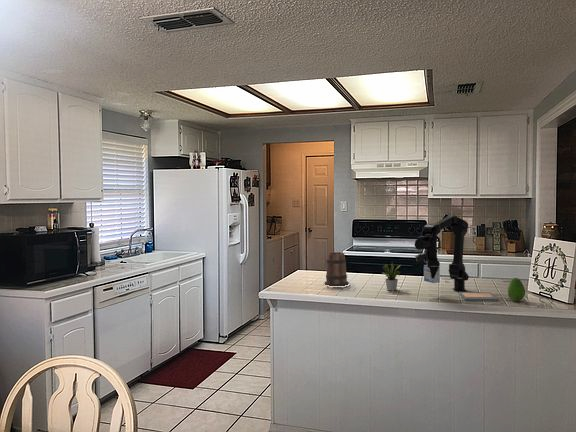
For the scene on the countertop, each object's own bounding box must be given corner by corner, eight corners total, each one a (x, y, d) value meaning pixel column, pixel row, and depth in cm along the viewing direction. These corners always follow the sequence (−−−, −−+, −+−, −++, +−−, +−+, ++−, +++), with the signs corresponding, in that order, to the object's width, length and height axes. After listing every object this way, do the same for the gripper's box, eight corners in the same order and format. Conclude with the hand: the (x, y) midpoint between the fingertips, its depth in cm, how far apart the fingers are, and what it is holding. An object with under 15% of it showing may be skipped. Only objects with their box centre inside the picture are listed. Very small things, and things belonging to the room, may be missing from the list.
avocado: (508, 302, 244) (508, 278, 244) (507, 299, 252) (507, 276, 251) (526, 303, 241) (525, 279, 241) (524, 300, 249) (524, 276, 248)
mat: (459, 294, 266) (459, 291, 266) (490, 294, 264) (490, 292, 264) (464, 300, 251) (464, 298, 251) (497, 301, 248) (497, 298, 248)
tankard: (347, 288, 291) (346, 255, 290) (319, 287, 296) (319, 254, 295) (354, 281, 313) (354, 250, 312) (328, 280, 318) (328, 249, 317)
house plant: (374, 291, 279) (374, 263, 278) (379, 287, 292) (378, 260, 291) (400, 293, 274) (400, 264, 273) (403, 288, 287) (403, 260, 286)
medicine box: (423, 280, 265) (423, 265, 265) (430, 280, 267) (430, 264, 267) (433, 283, 258) (433, 267, 258) (440, 282, 260) (439, 266, 260)
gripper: (414, 246, 272) (414, 274, 273) (417, 250, 254) (417, 280, 255) (435, 246, 270) (435, 274, 271) (439, 250, 252) (440, 280, 253)
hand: (431, 277), depth 263 cm, fingers closed on medicine box, 9 cm apart
